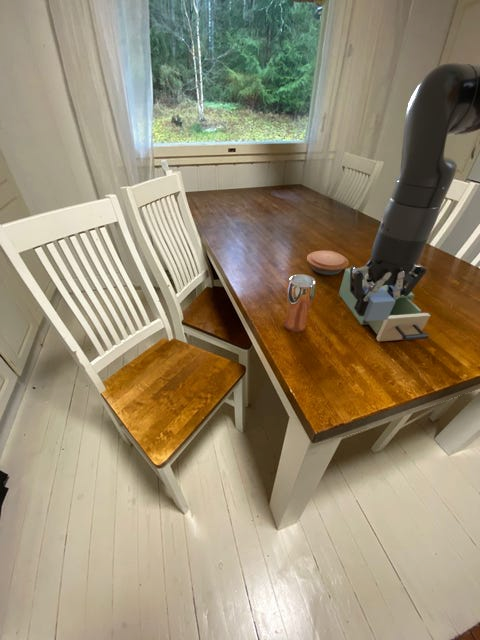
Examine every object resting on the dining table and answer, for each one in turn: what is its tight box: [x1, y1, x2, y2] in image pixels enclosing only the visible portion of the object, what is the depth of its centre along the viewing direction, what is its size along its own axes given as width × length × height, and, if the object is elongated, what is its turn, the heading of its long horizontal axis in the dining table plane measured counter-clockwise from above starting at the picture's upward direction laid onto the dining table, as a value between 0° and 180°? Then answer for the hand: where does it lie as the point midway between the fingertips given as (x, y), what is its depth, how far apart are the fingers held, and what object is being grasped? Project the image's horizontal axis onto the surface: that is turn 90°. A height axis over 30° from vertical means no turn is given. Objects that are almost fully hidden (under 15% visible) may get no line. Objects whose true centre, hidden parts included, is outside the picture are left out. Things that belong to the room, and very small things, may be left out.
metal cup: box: [284, 273, 317, 333], centre depth 74 cm, size 7×7×15 cm
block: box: [362, 288, 396, 321], centre depth 54 cm, size 5×5×5 cm
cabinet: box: [338, 267, 415, 326], centre depth 83 cm, size 17×13×10 cm
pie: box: [306, 250, 349, 276], centre depth 105 cm, size 15×16×5 cm
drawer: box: [367, 298, 431, 342], centre depth 75 cm, size 20×11×8 cm, turn 7°
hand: (371, 312), depth 55 cm, fingers closed on block, 4 cm apart
